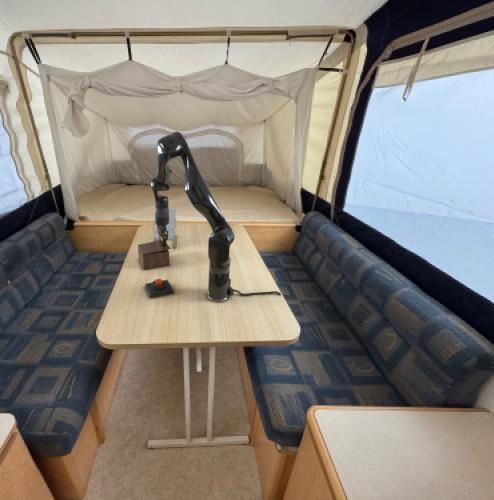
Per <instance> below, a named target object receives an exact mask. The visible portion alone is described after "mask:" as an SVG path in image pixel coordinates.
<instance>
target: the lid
mask: <svg viewBox="0 0 494 500" xmlns="http://www.w3.org/2000/svg"><path fill="white" fill-rule="evenodd" d="M159 238H160V239H161V243H160V242H159V240H158V241H155V240H153V241H154V242H153V241H149V242H145V243H140V244H137V248H138V247H139V249H140V251H141V253H142V254H143V255H147V254H151V253H155V252H160V251H164V250H168V251H169V250H171V247H170V245H169V244H168V242H166V246H164V247H163V246H162V236H160V237H159Z"/></svg>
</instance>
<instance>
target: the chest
mask: <svg viewBox="0 0 494 500" xmlns="http://www.w3.org/2000/svg"><path fill="white" fill-rule="evenodd" d="M137 254H138V261H139V263H140V265H141V267H142V269H143V271H146V270H152V269H157V268H158V269H159V268H163V267H169V266H170V250H169V249H168V250H164V251H160V252H155V253H151V254H147V255H143V254H142V253H141V251H140V249H139V247H138V246H137Z"/></svg>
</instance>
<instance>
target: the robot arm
mask: <svg viewBox="0 0 494 500" xmlns="http://www.w3.org/2000/svg"><path fill="white" fill-rule="evenodd" d="M178 158H180V159H181V161H182V164H183V167H184V192H185V195H186V196H187V199H188V200H189V202H190V204H191V206H192V207H193V208H194V209H195V210H196V211H197V212H198V213H199V214H200V215H201V216H202V217H204V218H205V219H206V221H207V223H208V224H209V226H210V228H211V231H212V232H211V233H210V234H209V236H208V241H207V243H208V245H207V258H208V260H209V261H208V262H209V263H208V279H207V280H208V281H207V288H206V292H207V298H208V299H209V300H211V301H213V302H219V303H220V302H224V301H226V300H227V299H228V298H230V297H232V296H234V294H235V293H238V294H239V295H240V296H244V297H247V296H252V295H272V294H277V295H279V296H281V295H282V293H281V292H279V291H276V290H273V291H272V290H271V291H258V292H249V293H243V292H241V291H240V290H238V289H234V288H233V287H232V286H231V284H232V279H231V277H230V272H231V262H232V258H231V256H230V250H231V249H230V248H231V245H232V244H233V243H234V241H235V231H234V230H233V228H232V227H231V225H230V224H229V222H228V221H227V219H226V218H225V216H224V214H223V213H222V211H221V209H220V208H219V207H220V206H218V203H217V201H216V200H215V198H214V196H213V193H212V191H211V190H210V188H209V185H208V183H207V182H206V180H205V179H204V177H203V174H202V173H201V171H200V169H199V167H198V165H197V163H196V160H195V159H194V156H193V154H192V151H191V148H190V147H189V144H188V142H187V140H186V138H185V136H184V135H183V134H182V133H181V132H180V131H177V130H176V131H173V132H171V133H168V134H166V135H164V136H162V137H160V138H159V139H158V140H157V141H156V160H157V169H156V174H155V176H154V177H152V178H151V180H150V187H151V190H152V193H153V196H154V222H155V225H156V224H157V230H158V234H159V237H160V236H162V246H163V247H164V246H166V243H167V241H166V240H168V230H167V227H166V225H168V224H169V209H170V207H169V197H168V196H167V195H165V194H161V193H159V192H168V191H170V190H171V189H172V186H173V185H172V179H171V177H172V175H173V167H172V164H171V163H170V161H171V162H172V161H174V160H175V159H178ZM159 242H160V243H161V239H160V238H159ZM234 292H235V293H234Z"/></svg>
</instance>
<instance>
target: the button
mask: <svg viewBox="0 0 494 500" xmlns="http://www.w3.org/2000/svg"><path fill="white" fill-rule="evenodd" d="M163 280H164V279H162V278H156V279H155V280H154V281H155V285H157V286H160V285H162V284H163Z"/></svg>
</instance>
